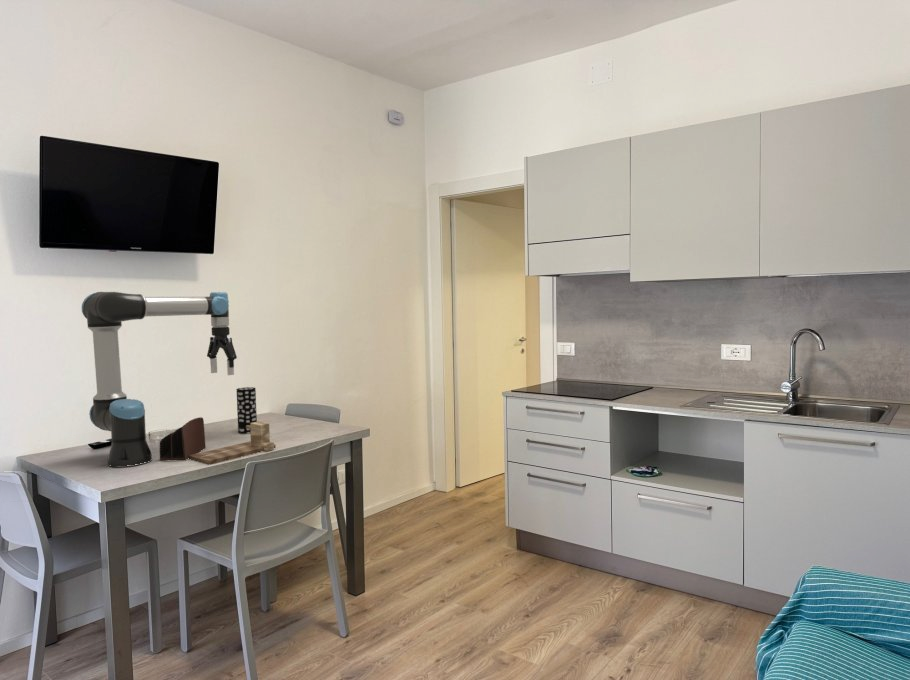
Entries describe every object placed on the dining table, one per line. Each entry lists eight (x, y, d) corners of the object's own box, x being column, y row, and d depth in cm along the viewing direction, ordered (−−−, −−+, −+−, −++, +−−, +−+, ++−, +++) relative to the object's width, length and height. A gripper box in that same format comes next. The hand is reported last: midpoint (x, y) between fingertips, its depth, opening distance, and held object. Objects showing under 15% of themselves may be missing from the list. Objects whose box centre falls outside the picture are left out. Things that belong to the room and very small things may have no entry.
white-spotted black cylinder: (238, 434, 291) (237, 390, 290) (237, 430, 299) (235, 388, 298) (258, 432, 295) (256, 389, 293) (256, 429, 302) (254, 386, 301)
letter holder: (206, 448, 266) (204, 414, 265) (185, 461, 247) (183, 424, 246) (181, 448, 267) (180, 415, 266) (159, 461, 247) (157, 425, 246)
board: (209, 464, 240) (209, 460, 240) (188, 459, 249) (188, 455, 249) (275, 448, 264) (275, 444, 264) (254, 443, 273) (254, 440, 273)
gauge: (265, 451, 259) (265, 426, 258) (243, 445, 267) (242, 421, 266) (274, 449, 262) (273, 424, 261) (251, 443, 270) (251, 419, 270)
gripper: (243, 326, 283) (245, 374, 285) (213, 325, 299) (214, 371, 301) (228, 327, 278) (230, 376, 279) (197, 326, 293) (199, 372, 295)
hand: (222, 373), depth 290 cm, fingers open, 13 cm apart
